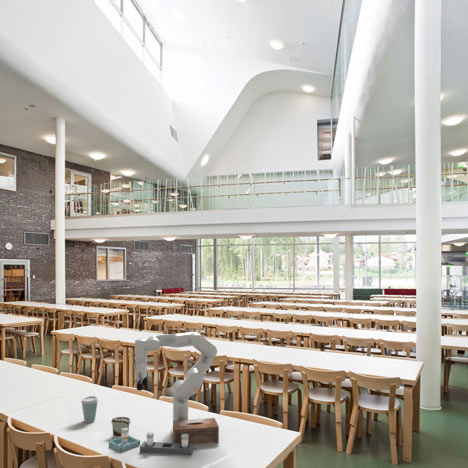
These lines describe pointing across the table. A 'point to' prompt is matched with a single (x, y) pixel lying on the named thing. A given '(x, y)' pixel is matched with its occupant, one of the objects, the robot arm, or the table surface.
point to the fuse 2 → (184, 440)
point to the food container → (119, 425)
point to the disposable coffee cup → (89, 408)
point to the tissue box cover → (196, 430)
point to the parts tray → (131, 444)
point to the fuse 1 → (150, 439)
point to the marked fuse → (124, 436)
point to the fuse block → (167, 448)
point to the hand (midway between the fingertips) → (142, 387)
